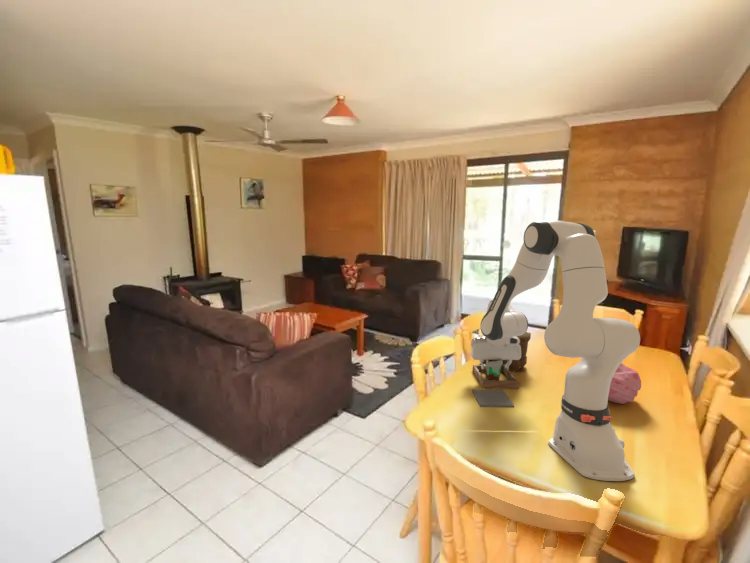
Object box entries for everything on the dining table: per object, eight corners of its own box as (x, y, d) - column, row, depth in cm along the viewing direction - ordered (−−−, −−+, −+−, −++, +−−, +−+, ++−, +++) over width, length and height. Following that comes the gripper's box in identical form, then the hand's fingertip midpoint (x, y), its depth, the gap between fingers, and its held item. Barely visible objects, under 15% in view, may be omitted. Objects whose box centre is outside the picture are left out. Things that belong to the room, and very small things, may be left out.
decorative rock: (597, 386, 146) (601, 351, 144) (641, 397, 137) (645, 360, 134) (587, 404, 132) (591, 365, 130) (635, 417, 123) (640, 376, 120)
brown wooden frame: (518, 388, 144) (518, 381, 144) (483, 388, 145) (483, 381, 144) (504, 371, 161) (504, 365, 161) (472, 371, 161) (472, 365, 161)
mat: (513, 406, 130) (514, 405, 130) (480, 406, 130) (480, 405, 130) (502, 391, 142) (502, 390, 142) (472, 391, 142) (472, 389, 142)
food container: (504, 386, 146) (505, 363, 145) (488, 385, 147) (489, 362, 146) (499, 374, 158) (501, 352, 157) (485, 373, 159) (486, 351, 158)
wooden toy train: (529, 366, 167) (531, 331, 164) (523, 375, 157) (526, 338, 155) (486, 357, 178) (487, 325, 175) (478, 365, 168) (480, 331, 166)
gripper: (473, 339, 147) (471, 372, 149) (524, 340, 147) (521, 372, 149) (469, 335, 153) (468, 366, 155) (518, 335, 153) (516, 366, 155)
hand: (494, 369), depth 152 cm, fingers open, 8 cm apart
